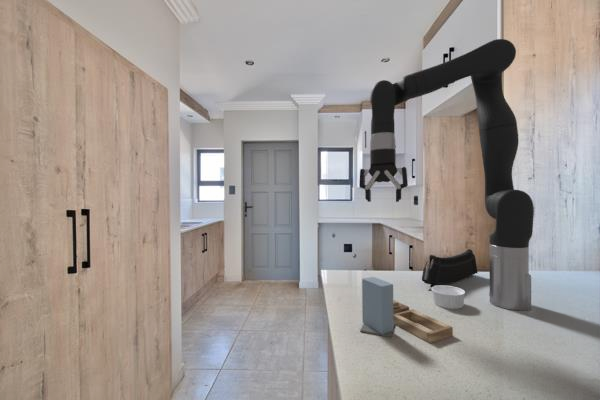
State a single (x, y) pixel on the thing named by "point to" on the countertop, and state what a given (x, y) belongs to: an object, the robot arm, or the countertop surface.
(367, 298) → the blue-grey rectangular block
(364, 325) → the pad
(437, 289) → the ramekin
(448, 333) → the rack
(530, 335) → the countertop surface
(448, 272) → the magazine
